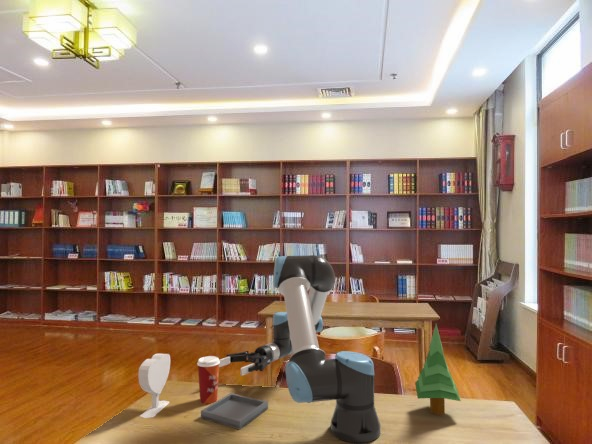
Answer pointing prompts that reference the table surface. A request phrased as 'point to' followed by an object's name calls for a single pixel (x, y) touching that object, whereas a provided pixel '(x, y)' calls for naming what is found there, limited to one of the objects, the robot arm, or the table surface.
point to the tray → (234, 410)
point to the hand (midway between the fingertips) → (228, 368)
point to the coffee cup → (208, 378)
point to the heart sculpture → (154, 381)
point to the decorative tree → (436, 378)
